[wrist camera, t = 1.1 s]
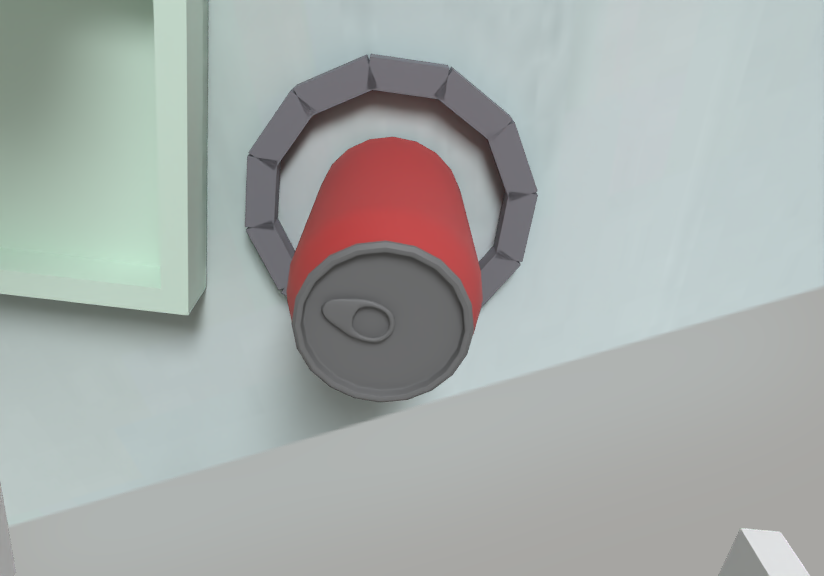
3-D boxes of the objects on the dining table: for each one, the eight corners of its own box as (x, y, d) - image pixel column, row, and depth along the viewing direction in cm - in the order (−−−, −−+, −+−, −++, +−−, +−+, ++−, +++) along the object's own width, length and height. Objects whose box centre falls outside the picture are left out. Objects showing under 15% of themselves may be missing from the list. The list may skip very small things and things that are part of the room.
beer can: (345, 111, 29) (310, 194, 18) (482, 163, 30) (526, 270, 19) (302, 242, 32) (249, 382, 21) (430, 285, 33) (442, 440, 22)
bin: (-111, 249, 31) (-159, 275, 29) (-189, -112, 25) (-260, -122, 22) (206, 287, 33) (188, 315, 30) (208, -50, 26) (185, -53, 23)
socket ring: (246, 309, 33) (242, 319, 32) (256, 37, 28) (251, 39, 27) (499, 339, 34) (502, 349, 33) (558, 81, 28) (563, 84, 28)
